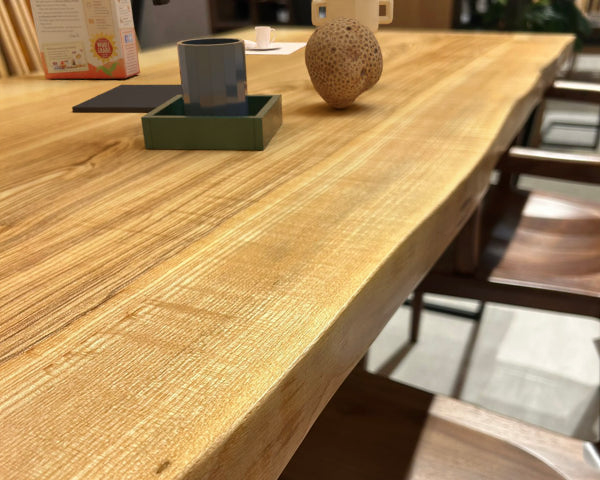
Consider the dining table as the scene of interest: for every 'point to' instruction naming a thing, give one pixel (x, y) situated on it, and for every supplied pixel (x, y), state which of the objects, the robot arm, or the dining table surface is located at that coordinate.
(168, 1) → the robot arm
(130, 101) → the rubber mat
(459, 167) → the dining table surface
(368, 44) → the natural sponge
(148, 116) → the square tray
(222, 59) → the cup
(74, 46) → the cracker box
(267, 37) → the teacup and saucer
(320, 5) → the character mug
